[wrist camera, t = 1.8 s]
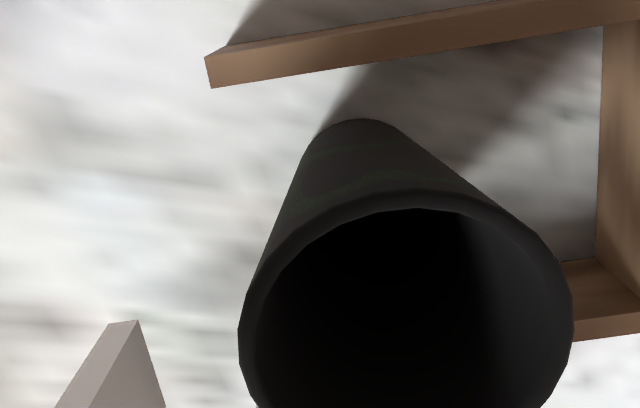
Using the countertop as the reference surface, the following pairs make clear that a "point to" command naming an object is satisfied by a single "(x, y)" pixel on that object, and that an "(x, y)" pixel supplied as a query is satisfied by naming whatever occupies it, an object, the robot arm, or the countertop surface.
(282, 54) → the comb rack
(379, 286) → the cup
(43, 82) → the countertop surface
